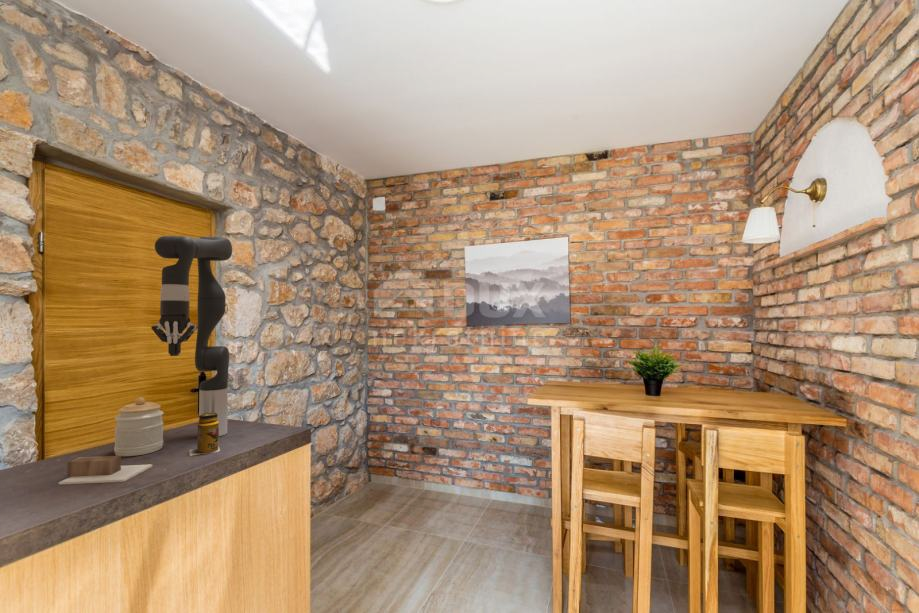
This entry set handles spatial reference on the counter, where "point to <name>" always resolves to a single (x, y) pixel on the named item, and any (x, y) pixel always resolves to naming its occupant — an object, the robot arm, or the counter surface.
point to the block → (94, 466)
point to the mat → (119, 476)
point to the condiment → (207, 435)
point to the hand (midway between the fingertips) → (174, 355)
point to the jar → (138, 429)
